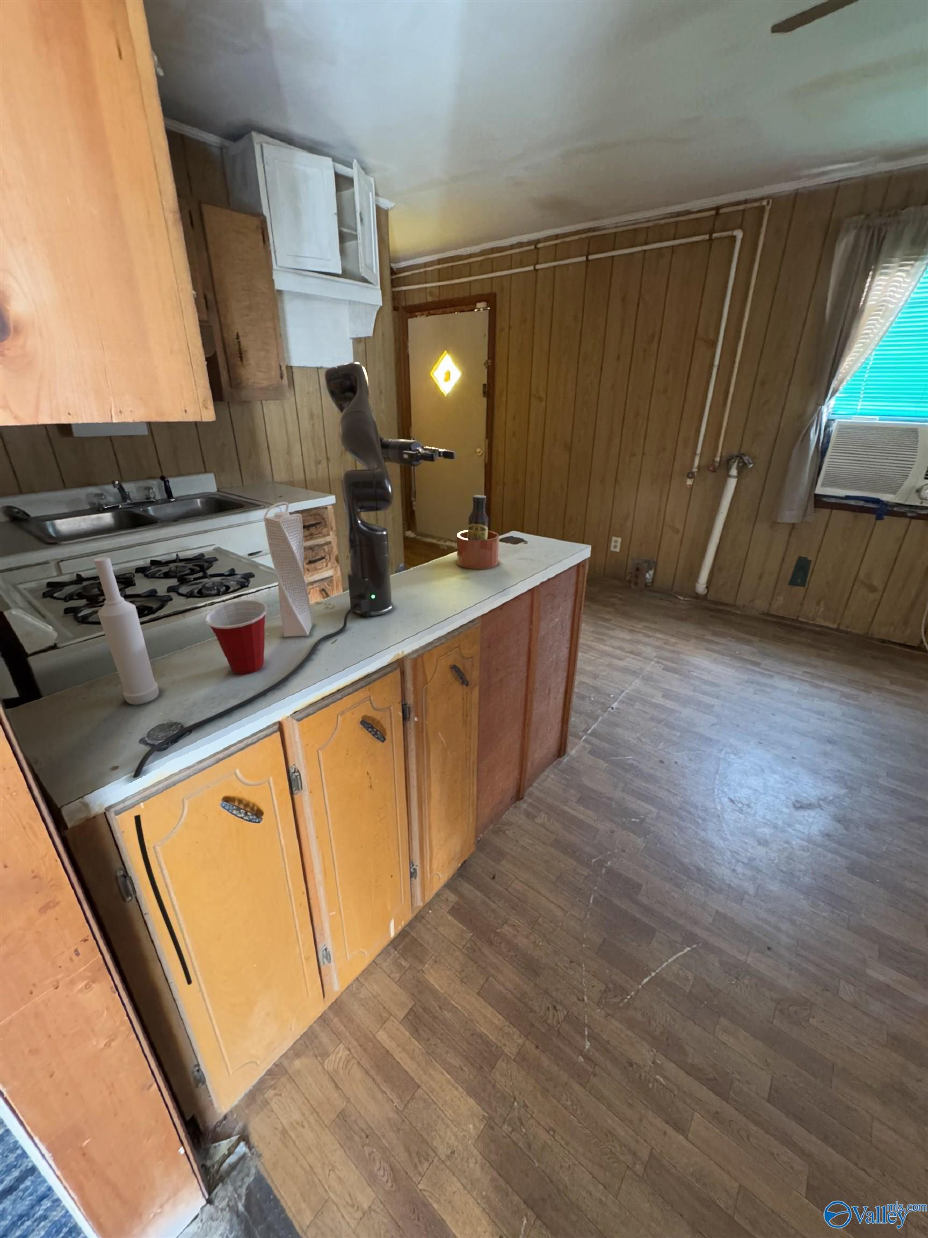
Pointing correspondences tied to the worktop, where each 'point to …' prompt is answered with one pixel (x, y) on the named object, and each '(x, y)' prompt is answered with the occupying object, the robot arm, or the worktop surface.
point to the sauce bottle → (478, 519)
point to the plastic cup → (240, 633)
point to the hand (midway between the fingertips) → (444, 456)
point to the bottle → (125, 639)
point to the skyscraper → (289, 570)
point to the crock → (477, 551)
